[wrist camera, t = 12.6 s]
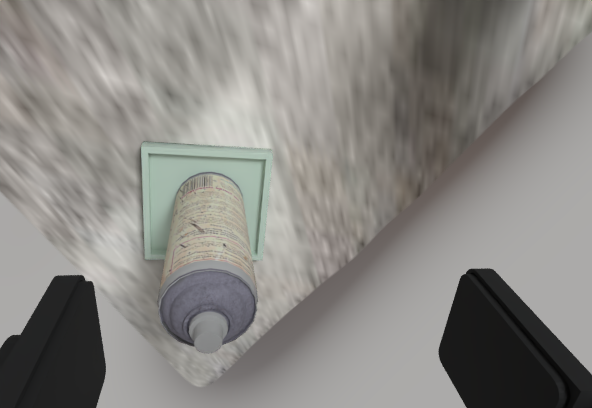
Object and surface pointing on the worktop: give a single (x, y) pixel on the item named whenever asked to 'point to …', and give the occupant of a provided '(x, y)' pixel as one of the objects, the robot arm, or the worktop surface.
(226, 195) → the aerosol can
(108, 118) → the worktop surface
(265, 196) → the tray
